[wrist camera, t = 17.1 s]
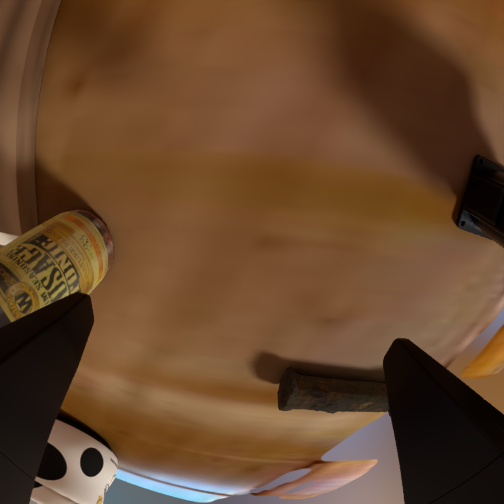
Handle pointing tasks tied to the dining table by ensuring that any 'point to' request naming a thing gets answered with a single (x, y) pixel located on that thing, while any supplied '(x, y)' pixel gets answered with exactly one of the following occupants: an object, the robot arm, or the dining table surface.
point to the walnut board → (21, 108)
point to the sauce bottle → (53, 263)
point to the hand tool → (330, 394)
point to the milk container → (74, 467)
